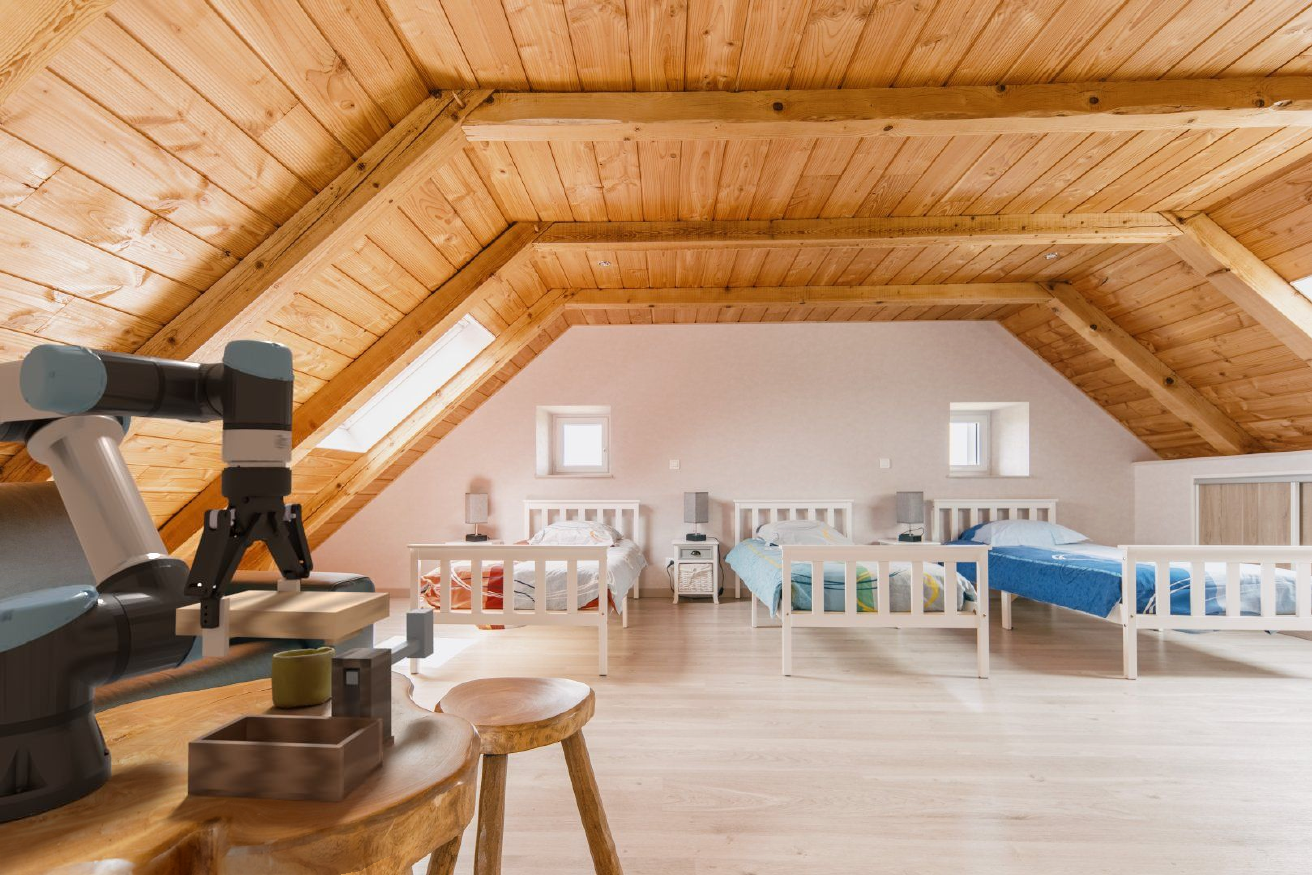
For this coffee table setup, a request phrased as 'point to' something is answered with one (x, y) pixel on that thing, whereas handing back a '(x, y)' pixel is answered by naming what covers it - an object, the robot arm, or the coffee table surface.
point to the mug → (301, 677)
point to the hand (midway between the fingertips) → (254, 641)
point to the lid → (294, 615)
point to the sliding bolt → (408, 641)
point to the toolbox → (303, 742)
